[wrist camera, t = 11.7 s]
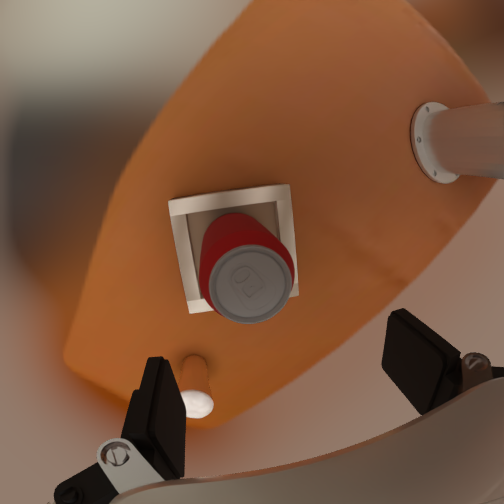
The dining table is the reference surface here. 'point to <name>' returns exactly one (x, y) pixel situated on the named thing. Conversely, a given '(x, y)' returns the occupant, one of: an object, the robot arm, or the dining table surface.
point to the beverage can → (244, 269)
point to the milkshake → (195, 387)
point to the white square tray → (216, 205)
